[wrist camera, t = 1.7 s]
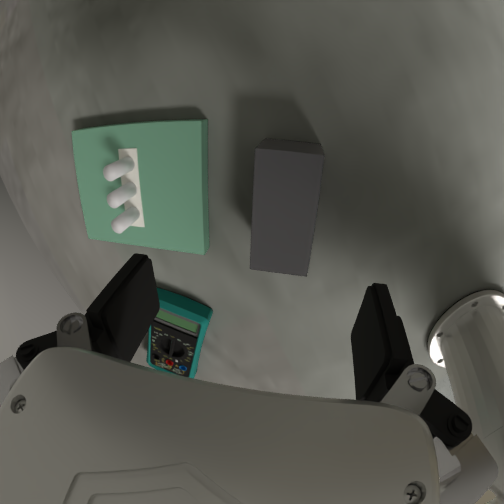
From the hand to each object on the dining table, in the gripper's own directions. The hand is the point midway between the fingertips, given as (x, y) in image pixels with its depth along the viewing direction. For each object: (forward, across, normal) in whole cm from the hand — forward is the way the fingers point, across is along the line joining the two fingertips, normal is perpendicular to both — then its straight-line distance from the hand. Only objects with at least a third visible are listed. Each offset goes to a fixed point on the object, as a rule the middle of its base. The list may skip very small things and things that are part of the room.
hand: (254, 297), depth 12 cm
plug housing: (+14, -1, 0) cm, 14 cm away
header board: (+14, +13, 0) cm, 19 cm away
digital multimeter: (+14, +11, +20) cm, 27 cm away
